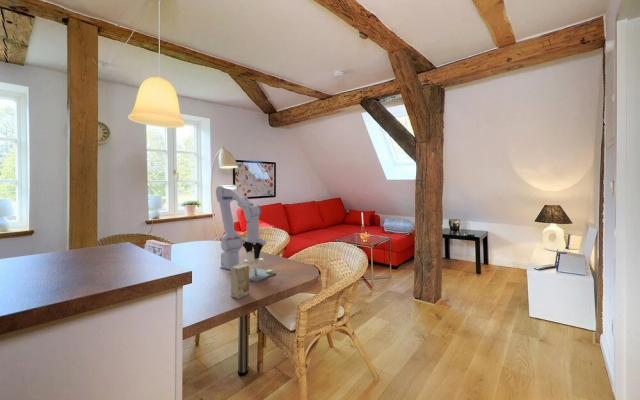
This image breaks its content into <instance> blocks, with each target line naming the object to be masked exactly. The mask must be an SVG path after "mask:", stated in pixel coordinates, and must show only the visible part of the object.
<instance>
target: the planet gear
mask: <svg viewBox="0 0 640 400" xmlns="http://www.w3.org/2000/svg"><path fill="white" fill-rule="evenodd" d="M246 257H247V258H244V259H243V260H242V264H248V265H256V264H257V265H258V264H260V263H263V262H264V261H265V260H264V258H263V257H261V258H260V257H259V258H258V259H255V255H254V249H252V251H249V252H246Z"/></svg>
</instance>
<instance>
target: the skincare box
mask: <svg viewBox="0 0 640 400" xmlns="http://www.w3.org/2000/svg"><path fill="white" fill-rule="evenodd" d="M249 270H250V264H246V263H241V264H240V263H239V265H236V266H234V267H231V270H230V295H231V296H230V297H232V298H235V299H240V298H243V297H246V296H248V295H250V281H249Z"/></svg>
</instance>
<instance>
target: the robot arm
mask: <svg viewBox="0 0 640 400" xmlns="http://www.w3.org/2000/svg"><path fill="white" fill-rule="evenodd" d="M215 195H216V200H217V203H219V208H220V212H221V217H222V224H223V229H224V234H223V236H221V239H220V241H221V243H220V247H221V249H222V252H221V254H220V266H219V268H221V269H225V270H230V271H231V267H234V266H236V265H240V251H241V250H242V248H244V249H245V252H246V253H247V252H249V251H252V250H254V255H255V259H258V258H260V255H261V252H262V249H263V247H264V246H265V245H267V241H266V239H262V238H260V227H259V225H260V224H259V223H260V221H259V218H260V216H261V214H262V209H261V206H260V205H259V204H254V203H253V202H252V201H251V200H250V199H249V197H247V196H243V195H242V194H241V193H240V192H239V188H238V187H237V185H235V184H230V185H229V184H228V185H223V184H222V185H217V187H216V189H215ZM234 200H235V201H236V203H237V206H238V207H239V208H240V210H242V211H243V215H244V218H245V222H246V237H241V235H240V234H239V233H237V232H236V229H235V224H234V219H233V214H232V208H231V202H233V201H234Z"/></svg>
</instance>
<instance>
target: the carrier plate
mask: <svg viewBox="0 0 640 400" xmlns="http://www.w3.org/2000/svg"><path fill="white" fill-rule="evenodd" d="M276 274H277V272H276V271H275V270H274V269H261V268H257V267H254V268H251V269H249V282H255V283H258V282H260V281H262V280H264V279H267V278H269V277H271V276H274V275H276Z"/></svg>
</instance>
